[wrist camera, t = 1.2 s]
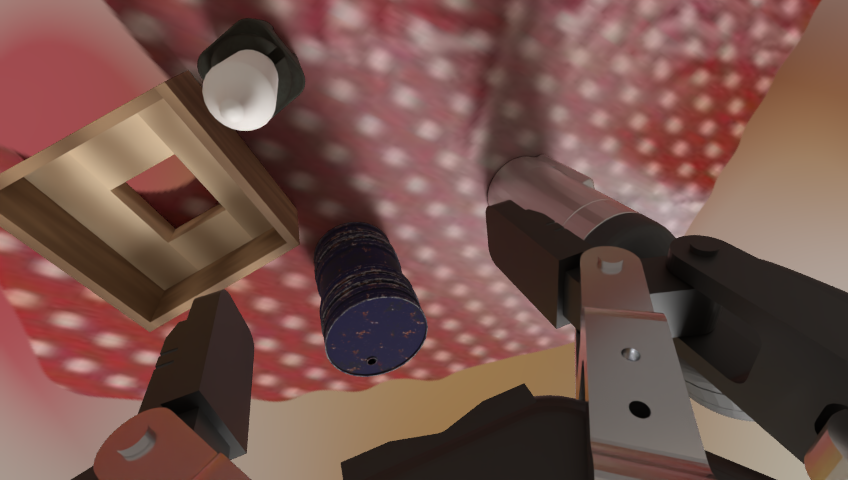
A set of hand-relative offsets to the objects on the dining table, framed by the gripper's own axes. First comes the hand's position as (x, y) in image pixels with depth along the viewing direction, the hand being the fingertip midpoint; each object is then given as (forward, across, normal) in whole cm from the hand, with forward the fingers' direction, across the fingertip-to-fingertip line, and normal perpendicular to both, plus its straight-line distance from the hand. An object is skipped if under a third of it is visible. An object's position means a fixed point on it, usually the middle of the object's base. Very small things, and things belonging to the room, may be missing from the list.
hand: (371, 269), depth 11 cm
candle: (+31, +2, -5) cm, 32 cm away
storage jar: (+32, 0, +18) cm, 36 cm away
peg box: (+31, +14, +5) cm, 35 cm away
